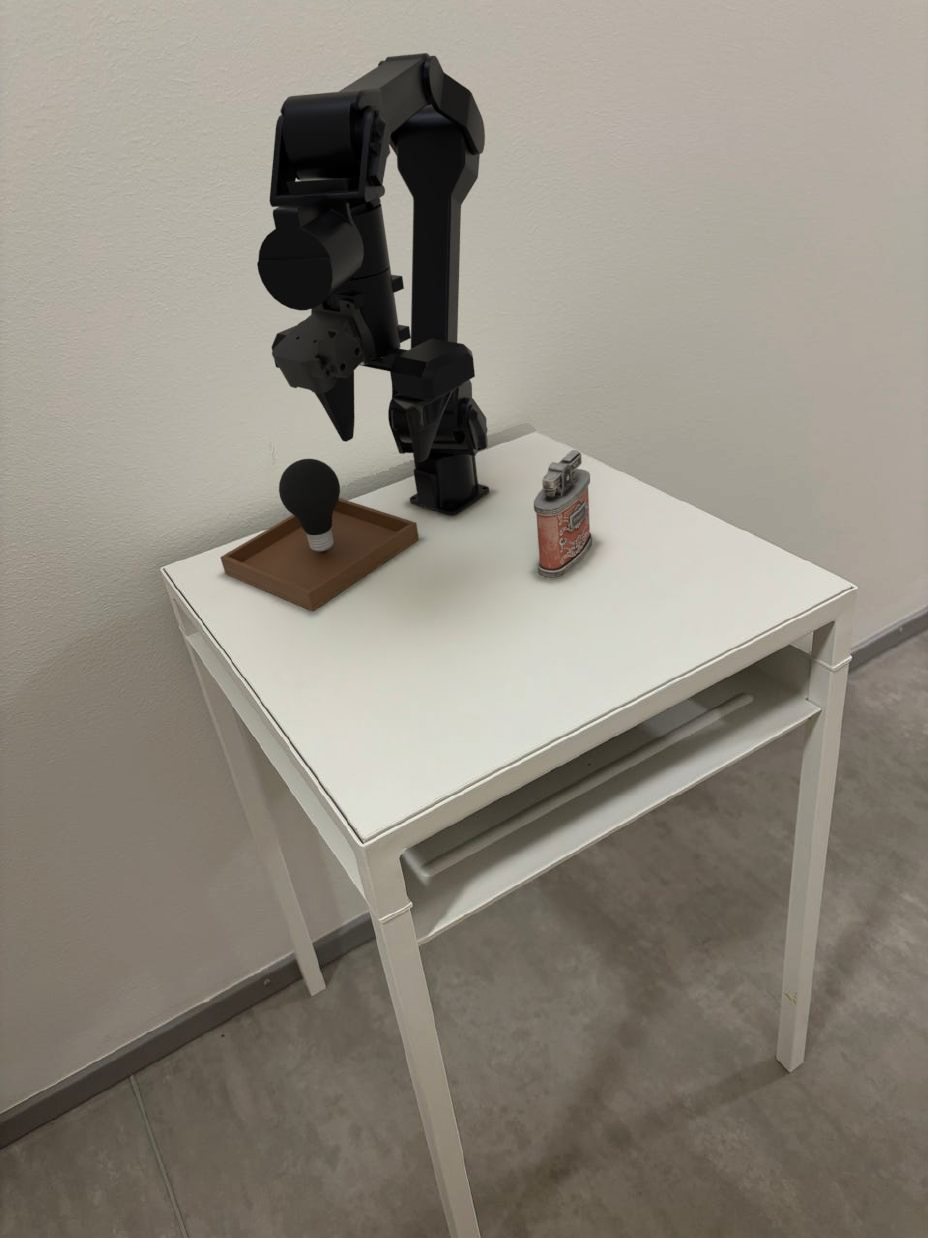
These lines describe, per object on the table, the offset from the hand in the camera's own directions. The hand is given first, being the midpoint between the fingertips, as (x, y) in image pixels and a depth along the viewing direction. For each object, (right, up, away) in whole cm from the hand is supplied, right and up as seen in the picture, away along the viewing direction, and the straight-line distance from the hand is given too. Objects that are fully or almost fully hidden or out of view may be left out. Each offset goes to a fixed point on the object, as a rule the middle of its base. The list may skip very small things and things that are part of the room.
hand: (384, 449), depth 85 cm
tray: (-7, -9, +12) cm, 16 cm away
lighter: (+17, -9, +7) cm, 20 cm away
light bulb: (-7, -8, +11) cm, 16 cm away
